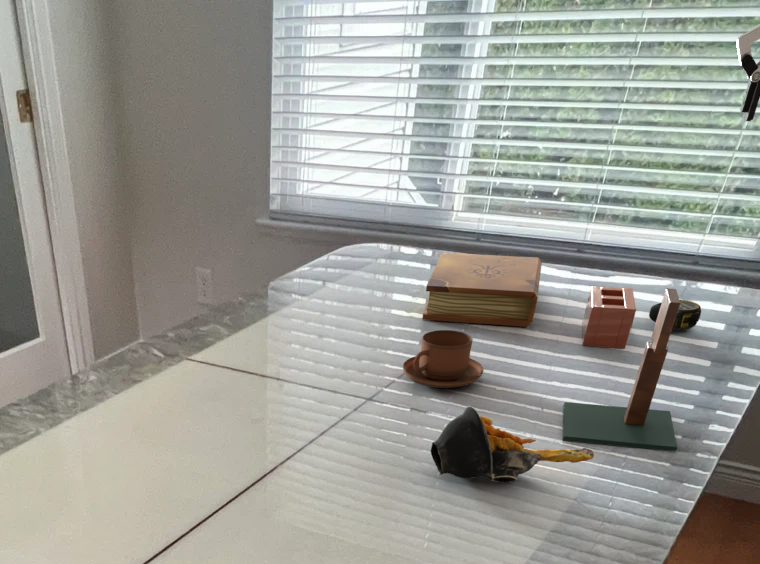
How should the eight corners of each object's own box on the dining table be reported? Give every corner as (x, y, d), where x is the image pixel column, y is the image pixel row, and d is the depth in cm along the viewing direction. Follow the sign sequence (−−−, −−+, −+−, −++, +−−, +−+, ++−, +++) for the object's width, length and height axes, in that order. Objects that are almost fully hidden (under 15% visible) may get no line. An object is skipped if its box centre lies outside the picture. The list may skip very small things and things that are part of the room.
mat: (668, 415, 117) (670, 411, 117) (675, 451, 109) (677, 447, 108) (563, 405, 121) (564, 401, 120) (562, 440, 112) (563, 436, 112)
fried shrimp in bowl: (417, 423, 106) (558, 367, 104) (441, 506, 110) (578, 455, 107) (432, 424, 98) (586, 364, 95) (457, 515, 101) (607, 459, 98)
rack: (622, 326, 145) (632, 288, 141) (625, 348, 137) (636, 309, 133) (582, 323, 147) (591, 286, 143) (582, 345, 138) (592, 306, 134)
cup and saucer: (460, 401, 123) (467, 357, 119) (387, 384, 128) (391, 342, 124) (494, 375, 130) (502, 333, 126) (423, 360, 135) (429, 320, 131)
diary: (531, 328, 145) (538, 292, 141) (422, 320, 150) (426, 285, 146) (536, 289, 161) (543, 256, 158) (437, 284, 166) (442, 251, 162)
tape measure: (644, 323, 146) (650, 300, 143) (680, 319, 146) (687, 296, 144) (666, 336, 141) (673, 312, 138) (703, 332, 141) (711, 308, 139)
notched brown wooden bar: (641, 413, 116) (681, 288, 106) (644, 431, 112) (685, 303, 101) (623, 412, 117) (661, 287, 106) (625, 429, 113) (664, 301, 102)
